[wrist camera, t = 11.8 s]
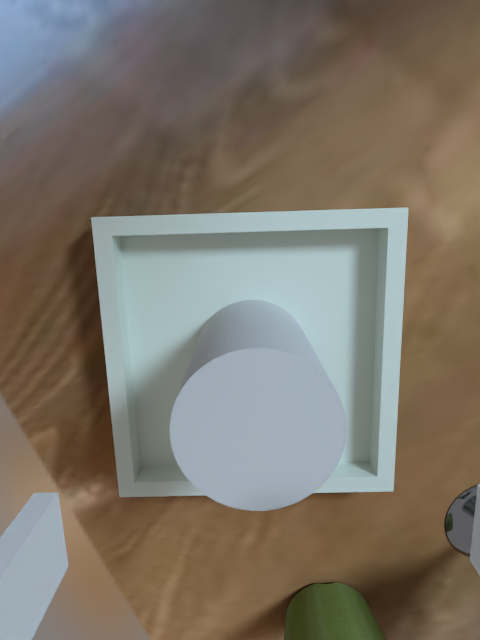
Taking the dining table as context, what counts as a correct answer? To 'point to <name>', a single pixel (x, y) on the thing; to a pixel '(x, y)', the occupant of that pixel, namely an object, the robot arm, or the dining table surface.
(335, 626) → the plant pot
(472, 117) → the dining table surface
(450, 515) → the wine glass
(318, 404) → the white round cylinder
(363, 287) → the tray
